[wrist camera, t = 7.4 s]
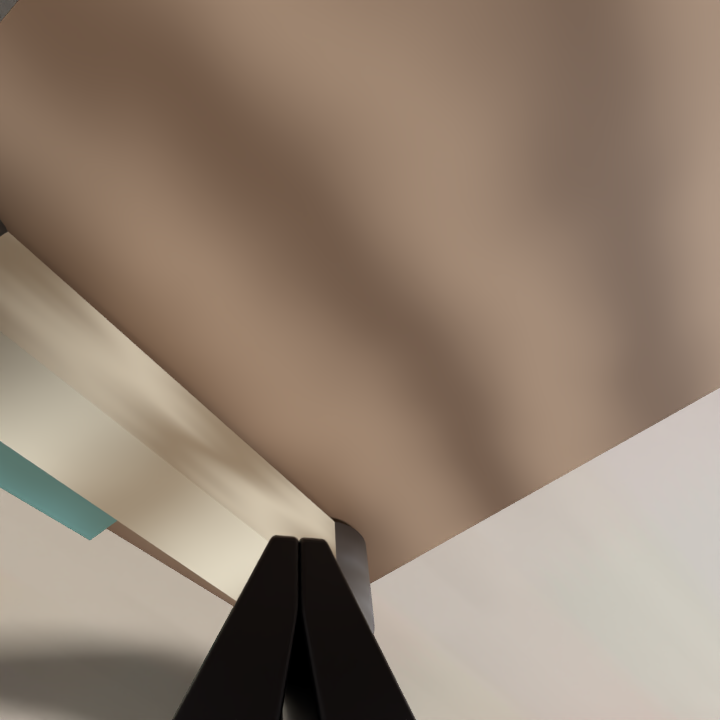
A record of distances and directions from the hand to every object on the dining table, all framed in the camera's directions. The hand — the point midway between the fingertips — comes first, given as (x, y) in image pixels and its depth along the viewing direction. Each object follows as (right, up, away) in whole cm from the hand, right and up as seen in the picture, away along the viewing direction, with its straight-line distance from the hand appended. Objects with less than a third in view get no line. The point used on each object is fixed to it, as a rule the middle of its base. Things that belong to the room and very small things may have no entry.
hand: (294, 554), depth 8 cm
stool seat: (+1, +6, +9) cm, 11 cm away
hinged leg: (-5, +1, +8) cm, 10 cm away
